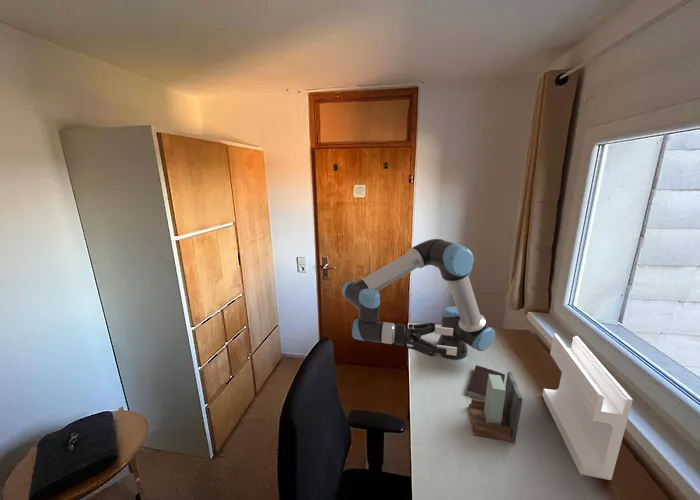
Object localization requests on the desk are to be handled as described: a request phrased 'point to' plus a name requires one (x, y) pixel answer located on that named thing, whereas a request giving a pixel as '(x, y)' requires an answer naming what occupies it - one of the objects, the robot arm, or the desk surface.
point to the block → (588, 408)
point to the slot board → (509, 416)
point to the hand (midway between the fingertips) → (454, 341)
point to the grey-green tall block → (494, 399)
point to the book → (481, 382)
